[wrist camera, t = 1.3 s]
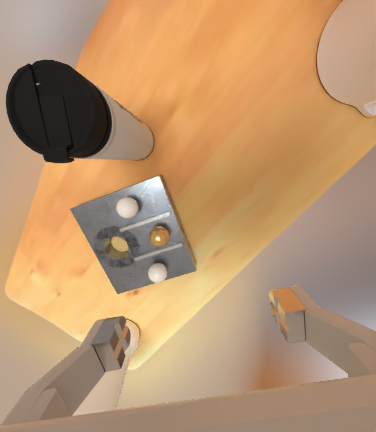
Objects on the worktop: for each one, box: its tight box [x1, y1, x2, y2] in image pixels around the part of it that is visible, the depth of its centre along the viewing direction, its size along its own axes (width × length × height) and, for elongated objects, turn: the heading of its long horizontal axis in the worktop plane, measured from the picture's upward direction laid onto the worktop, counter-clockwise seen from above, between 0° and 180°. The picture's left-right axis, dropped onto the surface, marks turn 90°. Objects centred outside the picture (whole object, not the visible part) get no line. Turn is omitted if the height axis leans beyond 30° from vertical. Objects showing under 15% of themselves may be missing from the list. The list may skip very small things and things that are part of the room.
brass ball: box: [149, 227, 170, 247], centre depth 31 cm, size 4×4×4 cm
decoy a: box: [148, 263, 167, 283], centre depth 33 cm, size 4×4×4 cm
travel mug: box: [6, 60, 154, 163], centre depth 21 cm, size 6×7×20 cm
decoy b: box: [116, 197, 139, 218], centre depth 30 cm, size 4×4×4 cm
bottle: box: [72, 320, 140, 416], centre depth 29 cm, size 8×8×30 cm
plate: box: [70, 175, 196, 294], centre depth 34 cm, size 17×19×3 cm
